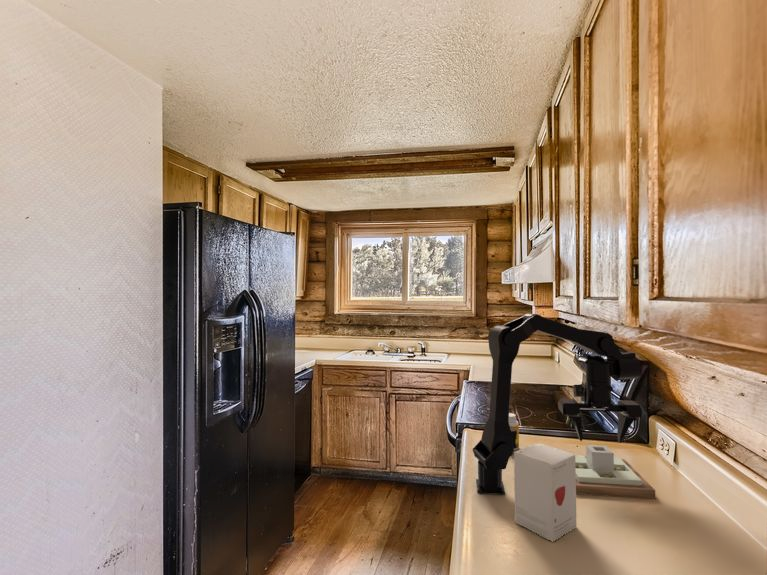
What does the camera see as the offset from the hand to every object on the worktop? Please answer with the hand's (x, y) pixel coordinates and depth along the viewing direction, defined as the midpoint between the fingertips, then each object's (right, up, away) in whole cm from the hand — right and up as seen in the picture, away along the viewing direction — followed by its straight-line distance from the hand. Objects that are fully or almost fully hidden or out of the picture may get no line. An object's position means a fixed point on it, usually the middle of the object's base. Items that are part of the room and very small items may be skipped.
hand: (600, 441), depth 106 cm
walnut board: (0, -10, 0) cm, 10 cm away
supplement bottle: (-16, -10, +22) cm, 29 cm away
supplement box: (-22, -10, -21) cm, 32 cm away
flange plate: (0, -8, 0) cm, 8 cm away
